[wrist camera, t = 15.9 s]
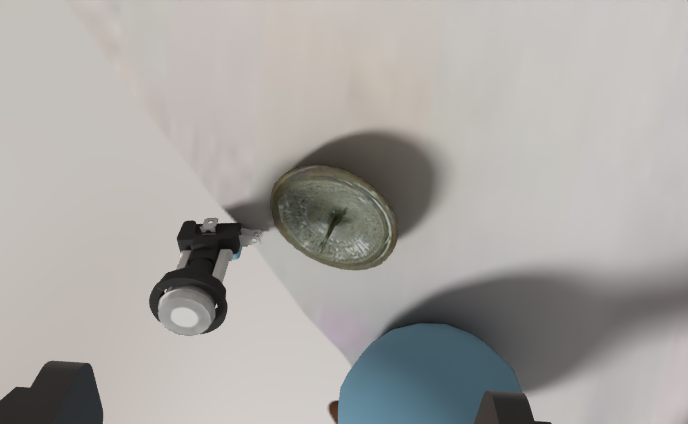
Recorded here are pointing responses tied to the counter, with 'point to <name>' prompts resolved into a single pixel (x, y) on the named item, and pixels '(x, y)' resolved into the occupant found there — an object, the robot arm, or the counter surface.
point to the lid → (334, 217)
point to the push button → (199, 277)
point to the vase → (423, 378)
